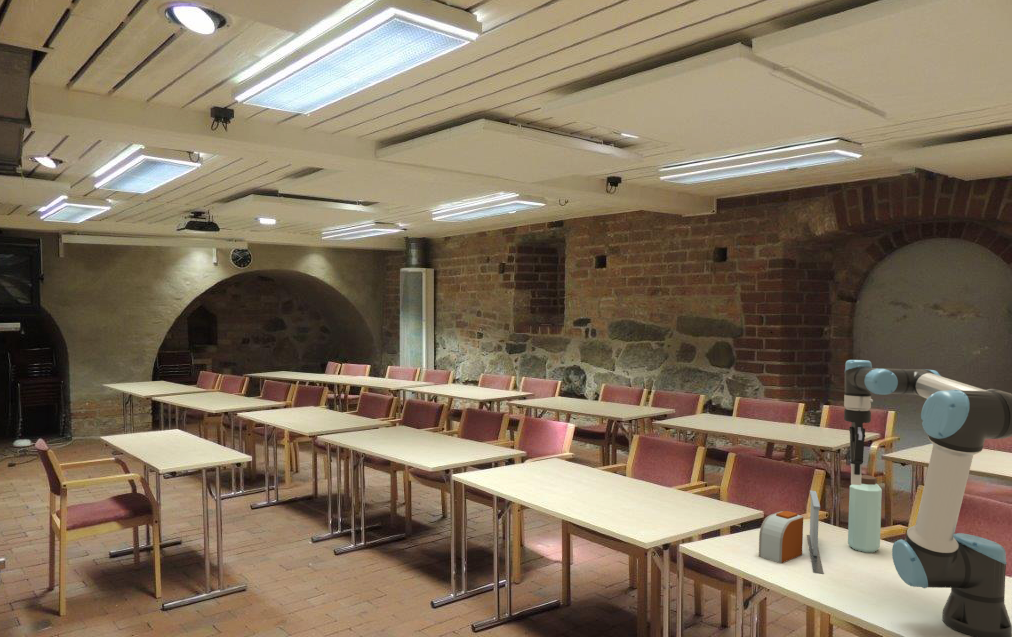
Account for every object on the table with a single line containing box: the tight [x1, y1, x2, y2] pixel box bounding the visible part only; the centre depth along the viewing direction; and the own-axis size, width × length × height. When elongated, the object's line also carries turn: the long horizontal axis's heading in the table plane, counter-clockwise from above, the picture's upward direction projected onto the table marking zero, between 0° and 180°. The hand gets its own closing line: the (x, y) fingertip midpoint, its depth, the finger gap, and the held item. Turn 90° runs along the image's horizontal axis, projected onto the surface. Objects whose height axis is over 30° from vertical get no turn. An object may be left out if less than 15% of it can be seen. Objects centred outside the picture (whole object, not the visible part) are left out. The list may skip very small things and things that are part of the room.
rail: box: [806, 534, 825, 575], centre depth 237 cm, size 39×3×1 cm, turn 160°
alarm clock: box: [758, 510, 804, 564], centre depth 235 cm, size 15×8×14 cm, turn 130°
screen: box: [809, 490, 821, 556], centre depth 243 cm, size 22×2×16 cm, turn 160°
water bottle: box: [847, 474, 883, 553], centre depth 243 cm, size 10×10×25 cm
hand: (856, 484), depth 220 cm, fingers closed
